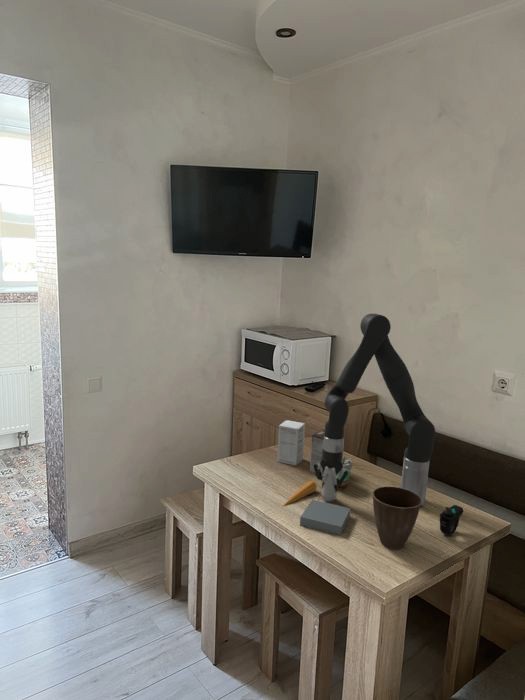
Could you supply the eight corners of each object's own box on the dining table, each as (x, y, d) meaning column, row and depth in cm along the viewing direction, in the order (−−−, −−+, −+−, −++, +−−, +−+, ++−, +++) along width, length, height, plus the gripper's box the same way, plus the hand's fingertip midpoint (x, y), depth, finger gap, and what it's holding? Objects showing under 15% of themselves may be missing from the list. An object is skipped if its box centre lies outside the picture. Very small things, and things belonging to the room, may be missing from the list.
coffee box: (319, 464, 224) (322, 429, 221) (332, 468, 220) (335, 432, 217) (309, 470, 216) (311, 434, 214) (322, 474, 213) (325, 438, 210)
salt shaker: (326, 504, 187) (329, 470, 185) (317, 497, 192) (320, 465, 190) (339, 501, 190) (342, 468, 187) (330, 494, 195) (333, 462, 192)
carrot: (310, 490, 200) (307, 479, 200) (319, 490, 197) (316, 479, 197) (279, 512, 185) (275, 500, 185) (288, 512, 182) (284, 500, 182)
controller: (435, 536, 169) (438, 508, 167) (450, 524, 178) (453, 497, 176) (447, 542, 166) (451, 513, 164) (462, 528, 175) (466, 501, 173)
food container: (341, 493, 196) (343, 469, 195) (327, 488, 200) (329, 464, 198) (356, 483, 206) (358, 460, 204) (342, 479, 210) (344, 456, 208)
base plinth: (349, 516, 179) (350, 508, 178) (340, 535, 166) (341, 526, 166) (311, 507, 184) (312, 499, 183) (299, 525, 171) (300, 516, 171)
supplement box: (303, 459, 229) (306, 423, 226) (296, 466, 220) (299, 429, 217) (283, 454, 232) (286, 419, 229) (276, 461, 224) (278, 425, 221)
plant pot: (358, 538, 165) (362, 492, 162) (389, 526, 173) (394, 482, 171) (394, 561, 153) (399, 512, 150) (425, 547, 162) (431, 500, 159)
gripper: (353, 448, 188) (350, 491, 191) (317, 441, 193) (314, 484, 196) (349, 455, 181) (345, 500, 184) (311, 447, 186) (308, 491, 189)
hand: (329, 491), depth 190 cm, fingers closed on salt shaker, 3 cm apart
